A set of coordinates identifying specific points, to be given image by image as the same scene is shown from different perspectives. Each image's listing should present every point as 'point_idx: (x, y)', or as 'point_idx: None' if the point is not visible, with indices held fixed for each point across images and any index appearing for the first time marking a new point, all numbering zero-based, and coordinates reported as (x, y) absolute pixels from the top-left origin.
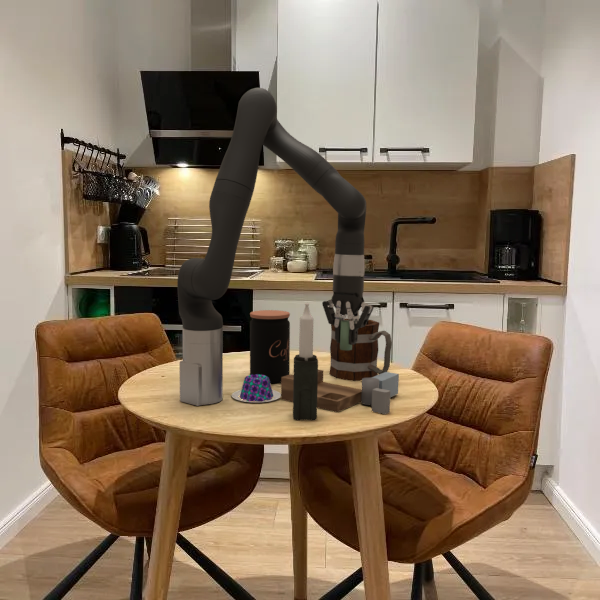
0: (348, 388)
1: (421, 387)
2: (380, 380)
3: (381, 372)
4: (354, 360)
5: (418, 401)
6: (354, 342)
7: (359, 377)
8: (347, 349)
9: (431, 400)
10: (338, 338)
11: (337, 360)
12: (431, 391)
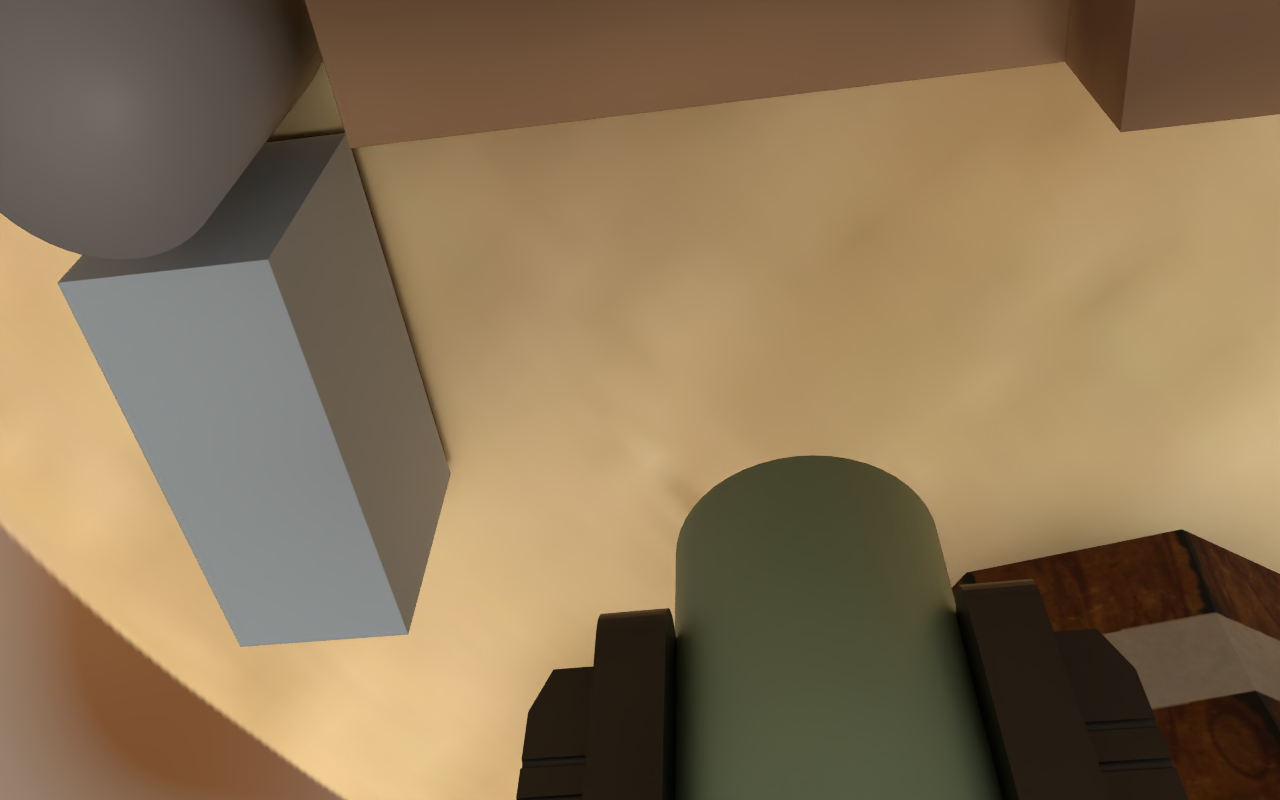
0: (555, 48)
1: (379, 755)
2: (90, 283)
3: None
4: None
5: (50, 451)
6: (558, 692)
7: None
8: (701, 510)
9: (21, 543)
10: (992, 656)
11: (1262, 702)
12: (242, 722)
